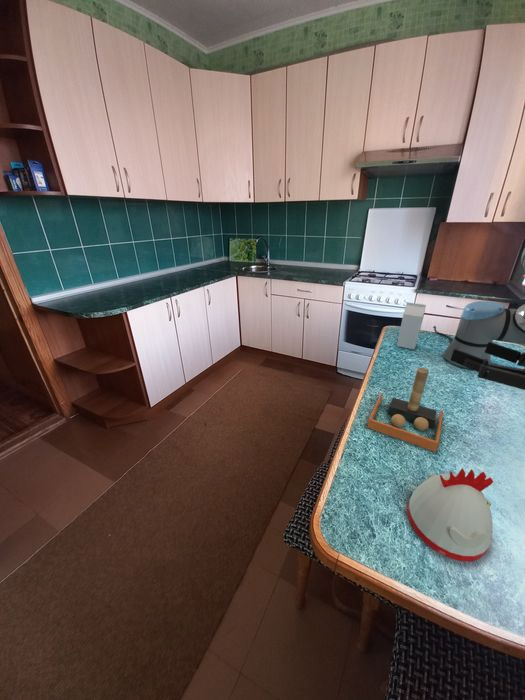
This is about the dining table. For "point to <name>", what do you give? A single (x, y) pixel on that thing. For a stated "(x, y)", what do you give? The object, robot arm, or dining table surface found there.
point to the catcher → (404, 434)
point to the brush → (414, 402)
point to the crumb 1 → (398, 420)
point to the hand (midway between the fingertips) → (470, 350)
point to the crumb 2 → (421, 423)
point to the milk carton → (411, 325)
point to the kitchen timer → (453, 514)
